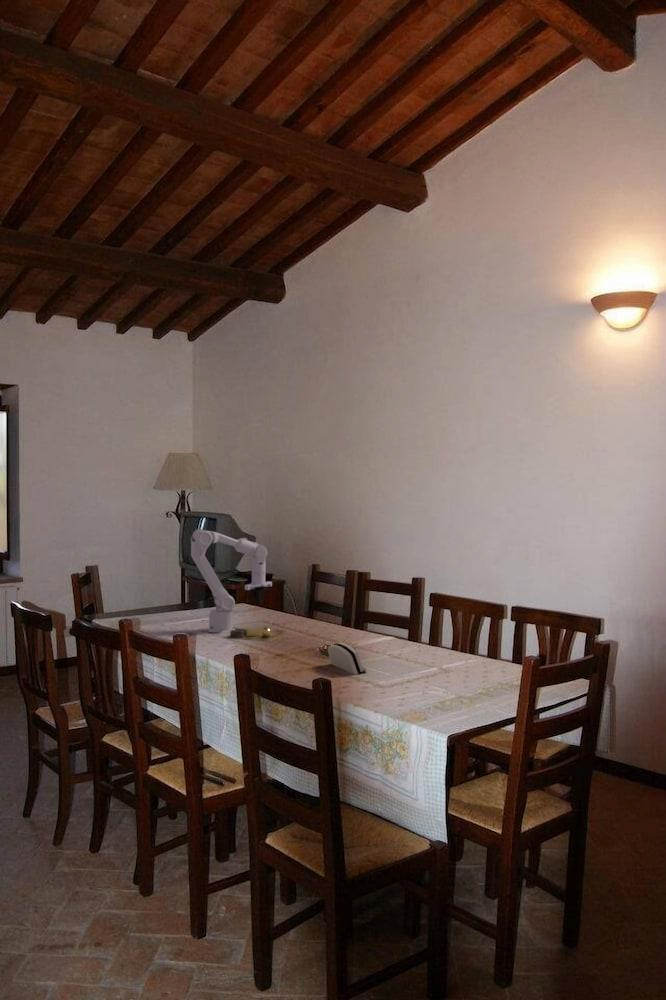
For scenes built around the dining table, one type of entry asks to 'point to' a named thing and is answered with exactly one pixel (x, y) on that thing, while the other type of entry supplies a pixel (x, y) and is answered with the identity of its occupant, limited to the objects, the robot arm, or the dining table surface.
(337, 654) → the grey half-round piece
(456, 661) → the dining table surface
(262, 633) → the swing bar
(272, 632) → the door board
